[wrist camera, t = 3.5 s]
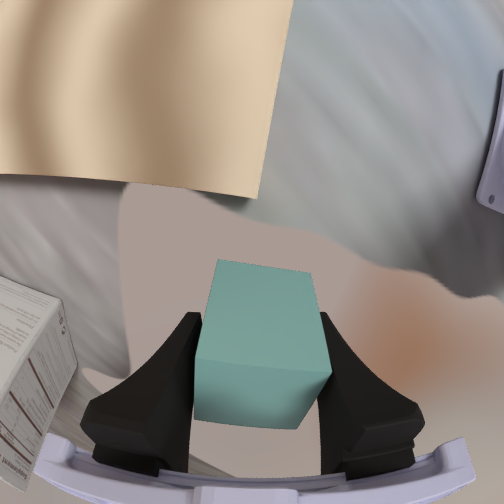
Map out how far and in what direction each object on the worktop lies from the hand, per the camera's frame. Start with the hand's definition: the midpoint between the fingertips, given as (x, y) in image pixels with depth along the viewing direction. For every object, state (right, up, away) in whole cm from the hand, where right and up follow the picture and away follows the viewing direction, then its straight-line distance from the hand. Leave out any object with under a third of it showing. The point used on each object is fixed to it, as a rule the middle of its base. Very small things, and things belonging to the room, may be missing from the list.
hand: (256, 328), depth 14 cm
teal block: (0, +1, +2) cm, 2 cm away
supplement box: (-17, -2, +4) cm, 17 cm away
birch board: (-9, +15, -6) cm, 18 cm away
